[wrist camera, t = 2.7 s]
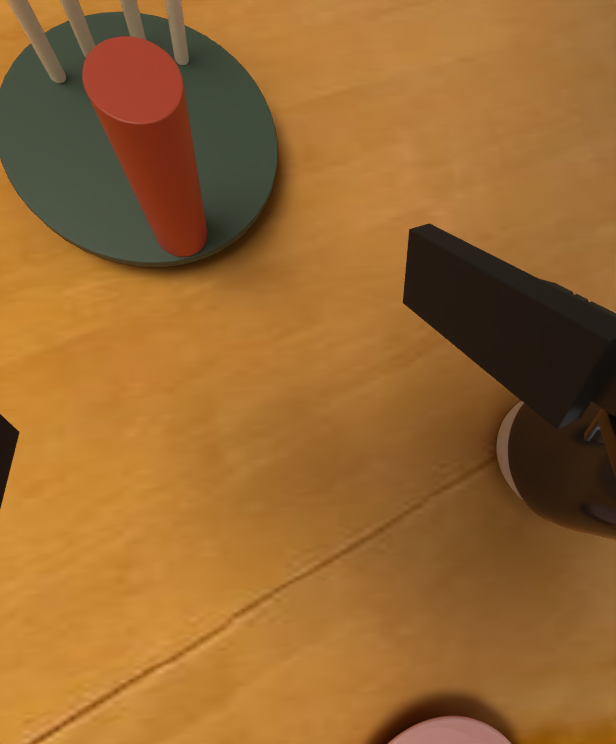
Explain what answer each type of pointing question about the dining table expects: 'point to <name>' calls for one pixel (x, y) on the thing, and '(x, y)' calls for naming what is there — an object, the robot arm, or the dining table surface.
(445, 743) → the plate
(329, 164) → the dining table surface
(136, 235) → the drying rack
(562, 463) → the pump dispenser
